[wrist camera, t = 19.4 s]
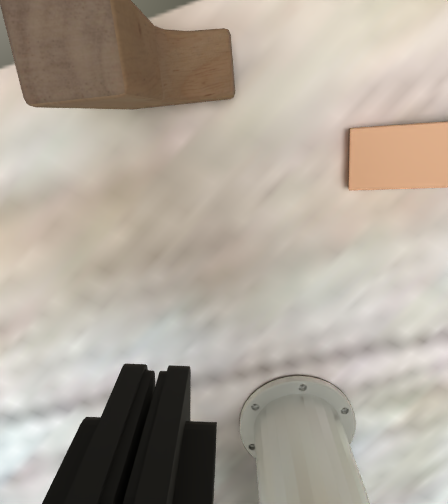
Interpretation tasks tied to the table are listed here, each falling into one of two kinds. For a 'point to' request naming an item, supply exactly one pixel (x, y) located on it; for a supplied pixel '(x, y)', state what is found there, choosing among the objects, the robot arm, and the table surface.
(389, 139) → the domino
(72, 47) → the wooden block
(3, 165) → the table surface
